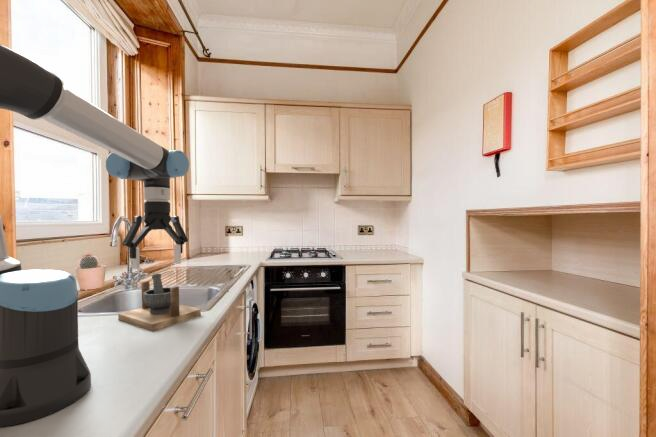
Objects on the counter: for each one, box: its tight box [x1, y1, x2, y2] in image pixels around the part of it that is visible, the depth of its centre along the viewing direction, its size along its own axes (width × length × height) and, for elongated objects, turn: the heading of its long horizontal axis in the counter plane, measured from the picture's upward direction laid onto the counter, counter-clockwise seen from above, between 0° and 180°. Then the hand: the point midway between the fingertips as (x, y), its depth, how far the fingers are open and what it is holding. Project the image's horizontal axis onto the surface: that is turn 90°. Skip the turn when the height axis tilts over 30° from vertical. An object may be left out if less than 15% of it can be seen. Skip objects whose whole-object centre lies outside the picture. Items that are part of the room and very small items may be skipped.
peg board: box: [117, 280, 202, 332], centre depth 101 cm, size 16×20×11 cm
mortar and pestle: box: [143, 273, 171, 315], centre depth 101 cm, size 11×9×12 cm
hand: (157, 266), depth 100 cm, fingers open, 13 cm apart
